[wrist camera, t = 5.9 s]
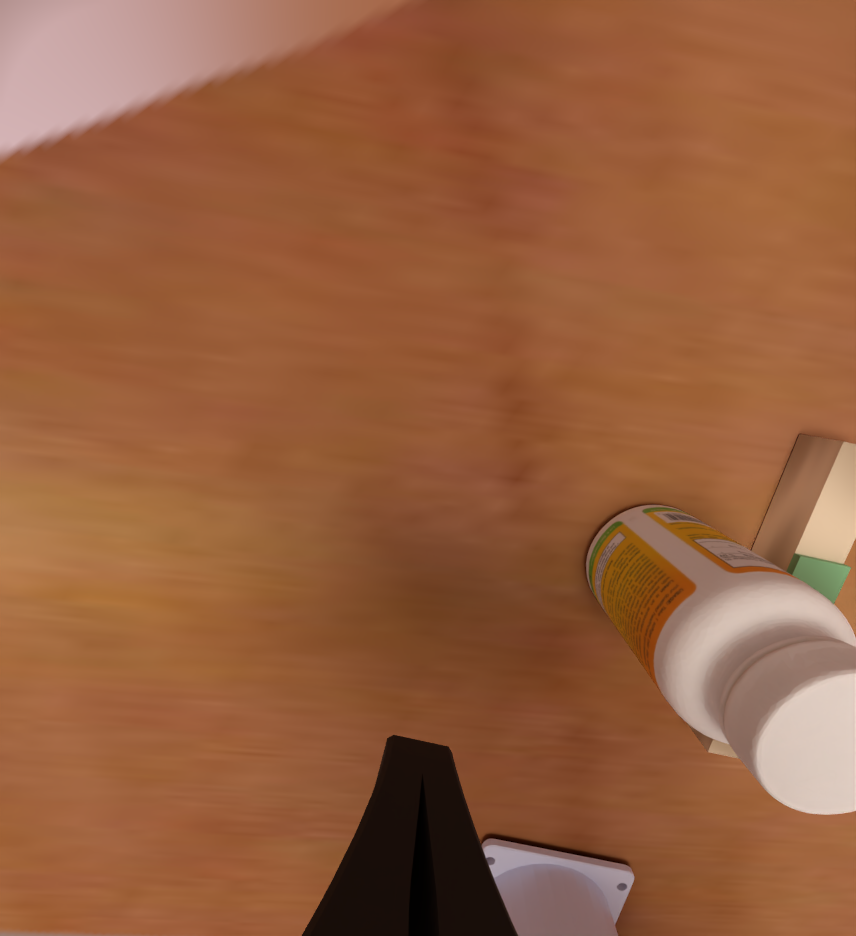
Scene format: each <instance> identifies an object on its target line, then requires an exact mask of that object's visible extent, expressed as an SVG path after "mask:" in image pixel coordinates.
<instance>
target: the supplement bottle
mask: <svg viewBox="0 0 856 936" xmlns="http://www.w3.org/2000/svg"><path fill="white" fill-rule="evenodd" d="M586 573H587V579H588V583H589V585H590V588H591V590H592V592H593V594H594V596H595V597H596V599H597V601H598V602H599V604H600V605H601V607H602V608H603V610H604V611H605V612H606V614H607V615H608V617H609V618H610V619H611V621H612V622H613V624H614V625H615V627H616V628H617V630H618V631H619V633H620V634H621V635H622V637H623V638H624V640H625V641H626V643H627V644H628V645H629V647H630V648H631V650H632V651H633V653H634V654H635V655H636V657H637V658H638V660H639V661H640V663H641V664H642V666H643V667H644V669H645V670H646V671H647V673H648V674H649V676H650V677H651V679H652V680H653V682H654V683H655V684H656V686H657V687H658V689H659V690H660V692H661V693H662V695H663V696H664V698H665V699H666V700H667V702H668V703H669V704H670V705H671V706H672V708H673V709H674V710H675V711H676V713H677V714H678V715H679V716H680V717H681V718H682V719H683V720H684V721H685V722H687V723H688V724H689V725H690V726H692V727H693V728H694V729H696V730H697V731H699V732H700V733H702V734H704V735H706V736H708V737H710V738H712V739H715V740H717V741H720V742H723V743H727V744H730V746H731V747H732V749H733V751H734V752H735V753H736V755H737V756H738V757H739V758H740V760H741V761H742V762H743V763H744V765H745V766H746V767H747V768H748V769H749V771H750V772H751V773H752V774H753V776H754V777H755V778H756V779H757V781H758V782H759V783H760V784H761V785H762V787H763V788H764V789H765V790H766V791H767V792H768V793H769V794H770V795H771V796H772V797H774V798H775V799H776V800H778V801H779V802H781V803H783V804H784V805H786V806H788V807H790V808H793V809H796V810H799V811H802V812H806V813H812V814H841V813H847V812H853V811H856V638H855V635H854V632H853V630H852V628H851V626H850V624H849V623H848V621H847V619H846V618H845V617H844V615H843V614H842V613H841V611H840V610H839V609H838V608H837V607H836V606H835V605H834V604H833V603H832V602H831V601H830V600H829V599H827V598H826V597H825V596H823V595H822V594H821V593H819V592H818V591H817V590H815V589H813V588H812V587H811V586H809V585H808V584H806V583H805V582H803V581H801V580H799V579H798V578H796V577H794V576H793V575H791V574H789V573H788V572H786V571H784V570H783V569H781V568H779V567H778V566H776V565H774V564H772V563H771V562H769V561H767V560H766V559H764V558H762V557H761V556H759V555H757V554H756V553H754V552H752V551H751V550H749V549H747V548H745V547H744V546H742V545H740V544H739V543H737V542H735V541H734V540H732V539H730V538H729V537H727V536H725V535H724V534H722V533H720V532H719V531H717V530H715V529H714V528H712V527H710V526H709V525H707V524H705V523H703V522H702V521H700V520H698V519H697V518H695V517H693V516H691V515H689V514H687V513H685V512H683V511H681V510H679V509H676V508H673V507H669V506H663V505H645V506H639V507H635V508H632V509H629V510H627V511H625V512H623V513H621V514H619V515H617V516H616V517H614V518H613V519H611V520H610V521H609V522H608V523H607V524H606V525H605V526H604V527H603V528H602V529H601V530H600V531H599V532H598V534H597V535H596V537H595V538H594V540H593V542H592V544H591V546H590V549H589V551H588V555H587V560H586Z"/></svg>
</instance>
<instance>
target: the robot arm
mask: <svg viewBox="0 0 856 936" xmlns="http://www.w3.org/2000/svg"><path fill="white" fill-rule="evenodd" d="M634 878H635V877H634V875H633V872H632V869H631V868H630V867H629V866H627V865H625V864H620V863H615V862H610V861H605V860H600V859H595V858H589V857H584V856H579V855H574V854H569V853H564V852H559V851H554V850H549V849H544V848H539V847H534V846H529V845H524V844H519V843H514V842H509V841H503V840H498V839H492V838H490V839H487V840H485V841H484V842H483V844H482V846H481V843H480V841H479V838H478V835H477V833H476V830H475V827H474V824H473V821H472V818H471V815H470V812H469V809H468V806H467V803H466V800H465V797H464V794H463V791H462V787H461V784H460V781H459V777H458V774H457V770H456V767H455V763H454V759H453V755H452V752H451V750H450V749H449V747H448V746H443V745H438V744H434V743H429V742H424V741H420V740H415V739H410V738H406V737H401V736H397V735H393V736H391V737H389V738H387V742H386V746H385V750H384V754H383V757H382V761H381V765H380V769H379V773H378V777H377V781H376V784H375V788H374V790H373V793H372V796H371V798H370V800H369V803H368V805H367V808H366V810H365V812H364V815H363V817H362V819H361V822H360V824H359V826H358V829H357V831H356V833H355V835H354V837H353V839H352V841H351V843H350V846H349V848H348V850H347V852H346V854H345V856H344V858H343V860H342V862H341V864H340V866H339V868H338V870H337V872H336V874H335V876H334V878H333V880H332V882H331V884H330V885H329V887H328V889H327V891H326V893H325V895H324V897H323V899H322V900H321V902H320V904H319V906H318V908H317V910H316V911H315V913H314V915H313V917H312V918H311V920H310V922H309V924H308V925H307V927H306V929H305V931H304V933H303V934H302V936H618V933H617V930H616V927H615V924H616V922H617V919H618V917H619V915H620V912H621V910H622V908H623V905H624V903H625V901H626V898H627V896H628V894H629V891H630V889H631V886H632V884H633V882H634Z"/></svg>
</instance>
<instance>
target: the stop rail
mask: <svg viewBox="0 0 856 936" xmlns="http://www.w3.org/2000/svg"><path fill="white" fill-rule="evenodd" d="M855 538H856V444H852V443H848V442H844V441H838V440H832V439H827V438H821V437H815V436H809V435H803V434H799V436H798V439H797V441H796V444H795V446H794V448H793V451H792V453H791V456H790V458H789V461H788V463H787V465H786V468H785V470H784V473H783V475H782V477H781V480H780V482H779V485H778V487H777V490H776V492H775V494H774V497H773V499H772V502H771V504H770V506H769V509H768V511H767V514H766V516H765V519H764V521H763V523H762V526H761V528H760V531H759V533H758V535H757V538H756V540H755V543H754V545H753V548H752V550H751V551H752V552H754V553H756V554H757V555H759V556H761V557H762V558H764V559H766V560H767V561H769V562H771V563H772V564H774V565H776V566H778V567H779V568H781V569H783V570H784V571H786V572H788V573H789V574H791V575H793V576H794V577H796V578H798V579H799V580H801V581H803V582H805V583H806V584H808V585H809V586H811V587H812V588H813V589H815V590H817V591H818V592H819V593H821V594H822V595H823V596H825V597H826V598H827V599H829V600H830V601H831V602H832V603H833V604H834V603H835V600H836V598H837V596H838V594H839V592H840V590H841V588H842V586H843V583H844V581H845V579H846V577H847V575H848V573H849V571H850V569H851V567H849V566H847V565H845V564H844V562H845V560H846V557H847V555H848V553H849V551H850V549H851V547H852V545H853V542H854V540H855ZM687 724H688V723H687ZM688 725H689V724H688ZM689 726H690V725H689ZM690 728H691V729H692V731H693V732H694V733H695V735H696V736H697V738H698V739H699V740H700V742H701V743H702V745H703V746H704V747H705V749H706V750H707V752H710V753H715V754H720V755H725V756H729V757H734V758H739V757H738V756H737V755H736V753H735V752H734V751H733V749H732V747H731V746H730V744H727V743H723V742H720V741H717V740H715V739H712V738H710V737H708V736H706V735H704V734H702V733H700V732H699V731H697V730H696V729H694V728H693V727H692V726H690ZM739 759H740V758H739Z"/></svg>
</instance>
